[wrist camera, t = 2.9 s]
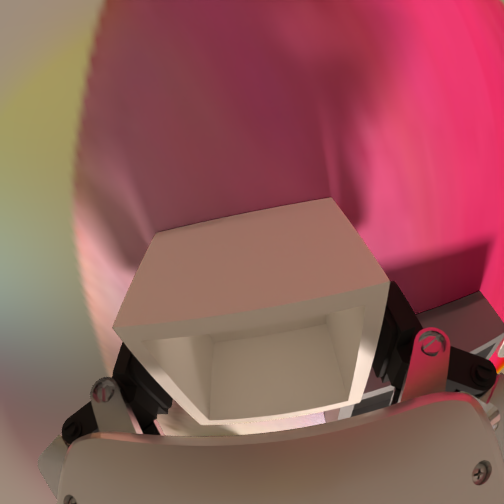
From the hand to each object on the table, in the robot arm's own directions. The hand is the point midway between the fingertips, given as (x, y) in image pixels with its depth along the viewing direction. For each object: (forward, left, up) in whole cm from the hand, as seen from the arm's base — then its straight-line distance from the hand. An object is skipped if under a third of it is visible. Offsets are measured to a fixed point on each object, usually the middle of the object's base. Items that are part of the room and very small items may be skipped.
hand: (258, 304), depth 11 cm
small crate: (0, 0, -1) cm, 1 cm away
